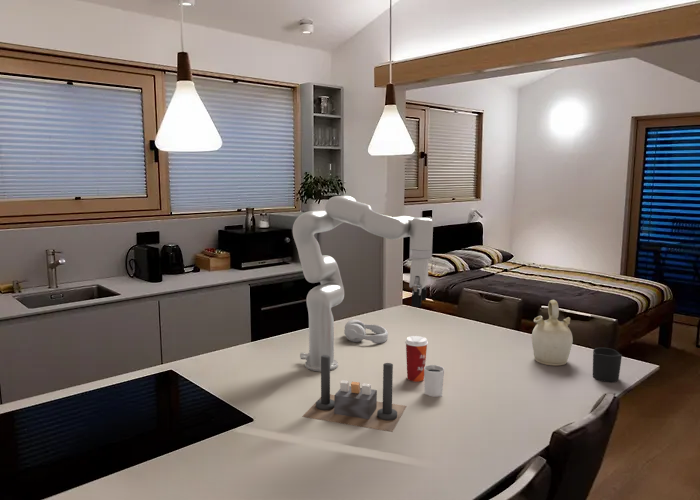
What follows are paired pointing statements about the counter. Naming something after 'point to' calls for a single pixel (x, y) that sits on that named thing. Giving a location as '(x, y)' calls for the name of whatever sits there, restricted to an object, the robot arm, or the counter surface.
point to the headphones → (364, 332)
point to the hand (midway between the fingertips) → (418, 303)
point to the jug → (552, 338)
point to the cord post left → (325, 386)
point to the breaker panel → (357, 420)
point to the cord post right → (387, 395)
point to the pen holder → (606, 364)
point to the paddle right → (366, 389)
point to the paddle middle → (355, 387)
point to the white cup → (433, 380)
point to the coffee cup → (416, 357)
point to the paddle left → (344, 385)
